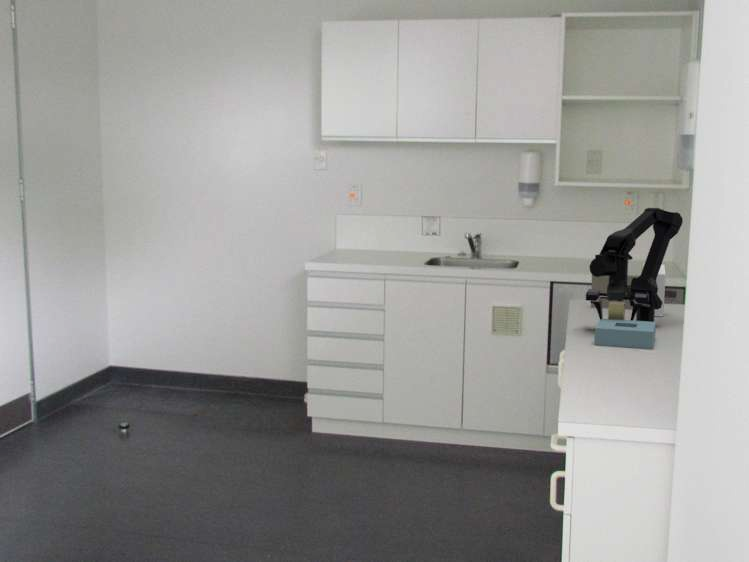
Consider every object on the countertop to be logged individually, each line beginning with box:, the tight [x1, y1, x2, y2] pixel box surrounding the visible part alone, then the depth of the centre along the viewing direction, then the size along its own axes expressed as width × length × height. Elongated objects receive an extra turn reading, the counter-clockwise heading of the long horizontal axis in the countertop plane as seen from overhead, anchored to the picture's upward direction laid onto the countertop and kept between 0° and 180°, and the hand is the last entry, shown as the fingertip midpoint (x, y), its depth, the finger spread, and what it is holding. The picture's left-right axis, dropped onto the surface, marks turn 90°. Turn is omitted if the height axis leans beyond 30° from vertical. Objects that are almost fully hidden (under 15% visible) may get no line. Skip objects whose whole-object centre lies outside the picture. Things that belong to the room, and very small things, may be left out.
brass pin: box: [607, 302, 626, 320], centre depth 248 cm, size 5×5×9 cm
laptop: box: [590, 274, 640, 311], centre depth 293 cm, size 18×12×13 cm
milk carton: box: [640, 260, 666, 317], centre depth 275 cm, size 7×7×19 cm
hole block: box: [594, 318, 657, 350], centre depth 233 cm, size 16×16×5 cm
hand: (616, 323), depth 248 cm, fingers open, 9 cm apart
